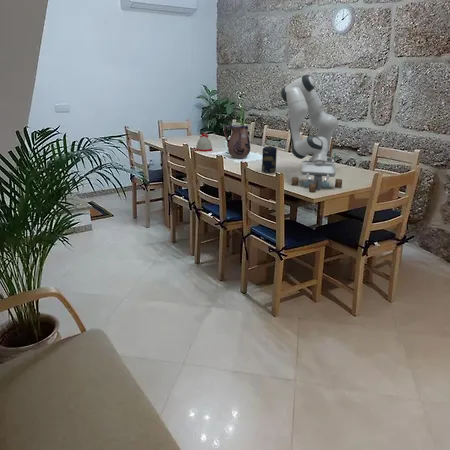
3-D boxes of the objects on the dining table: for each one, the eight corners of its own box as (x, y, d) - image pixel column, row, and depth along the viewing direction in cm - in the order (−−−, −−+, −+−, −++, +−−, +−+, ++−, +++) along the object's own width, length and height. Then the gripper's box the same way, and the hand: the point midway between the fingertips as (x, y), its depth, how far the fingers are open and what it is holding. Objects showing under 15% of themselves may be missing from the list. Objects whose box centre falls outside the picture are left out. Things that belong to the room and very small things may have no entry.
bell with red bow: (209, 152, 361) (209, 134, 356) (194, 151, 364) (193, 133, 359) (213, 149, 374) (213, 131, 369) (198, 148, 377) (198, 131, 372)
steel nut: (313, 187, 257) (314, 174, 254) (320, 188, 256) (321, 175, 253) (313, 190, 252) (314, 176, 249) (320, 190, 252) (322, 177, 249)
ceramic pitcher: (250, 160, 331) (251, 127, 322) (223, 159, 331) (223, 127, 323) (249, 155, 347) (250, 124, 339) (223, 155, 348) (224, 124, 339)
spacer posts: (291, 183, 265) (292, 176, 263) (341, 186, 260) (342, 179, 259) (291, 191, 249) (291, 183, 247) (344, 194, 245) (345, 186, 243)
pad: (303, 181, 270) (303, 180, 270) (328, 182, 268) (328, 181, 268) (303, 186, 259) (303, 185, 259) (330, 187, 257) (330, 186, 257)
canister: (278, 172, 294) (279, 146, 288) (270, 174, 288) (271, 147, 281) (267, 169, 300) (268, 144, 294) (259, 172, 293) (259, 146, 287)
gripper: (302, 157, 257) (299, 177, 252) (336, 159, 253) (335, 179, 247) (302, 163, 263) (299, 182, 257) (336, 165, 258) (334, 185, 253)
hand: (317, 181), depth 252 cm, fingers open, 8 cm apart
